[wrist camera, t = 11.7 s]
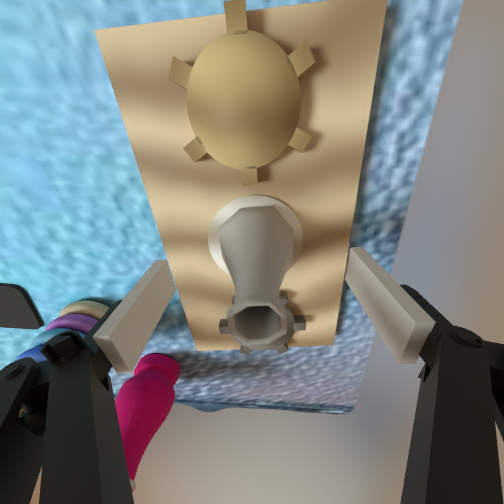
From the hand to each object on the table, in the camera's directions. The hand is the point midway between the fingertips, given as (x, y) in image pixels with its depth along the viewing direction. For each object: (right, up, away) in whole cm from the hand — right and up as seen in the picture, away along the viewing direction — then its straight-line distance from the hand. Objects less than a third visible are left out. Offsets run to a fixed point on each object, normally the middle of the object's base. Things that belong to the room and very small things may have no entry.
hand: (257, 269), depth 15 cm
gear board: (0, +3, +6) cm, 7 cm away
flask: (0, +2, +5) cm, 5 cm away
